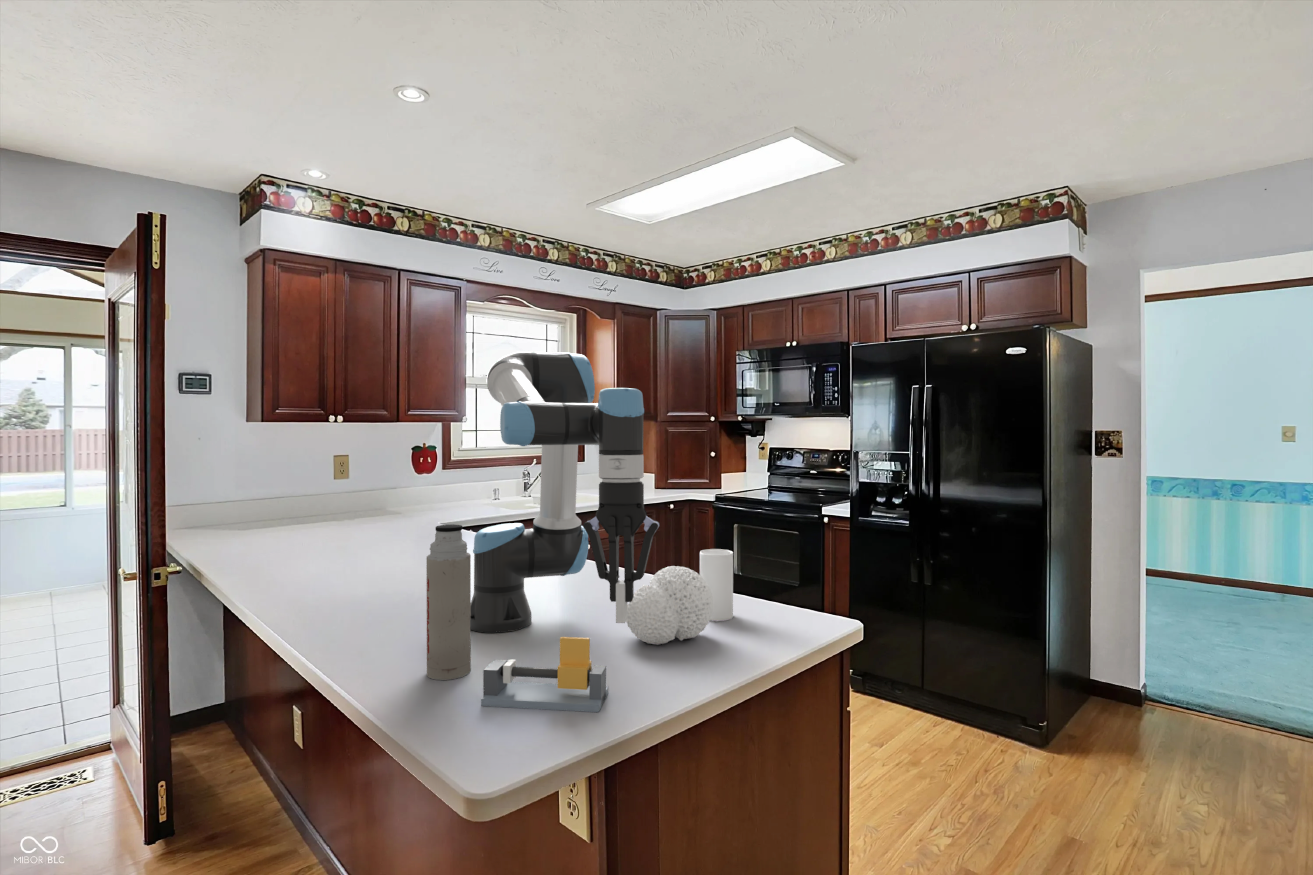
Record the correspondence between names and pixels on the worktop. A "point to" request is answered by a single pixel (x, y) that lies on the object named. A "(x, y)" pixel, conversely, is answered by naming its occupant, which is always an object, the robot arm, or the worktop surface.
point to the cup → (719, 581)
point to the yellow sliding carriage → (574, 663)
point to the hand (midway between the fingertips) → (621, 620)
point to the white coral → (670, 606)
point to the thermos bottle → (448, 605)
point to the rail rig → (540, 689)
